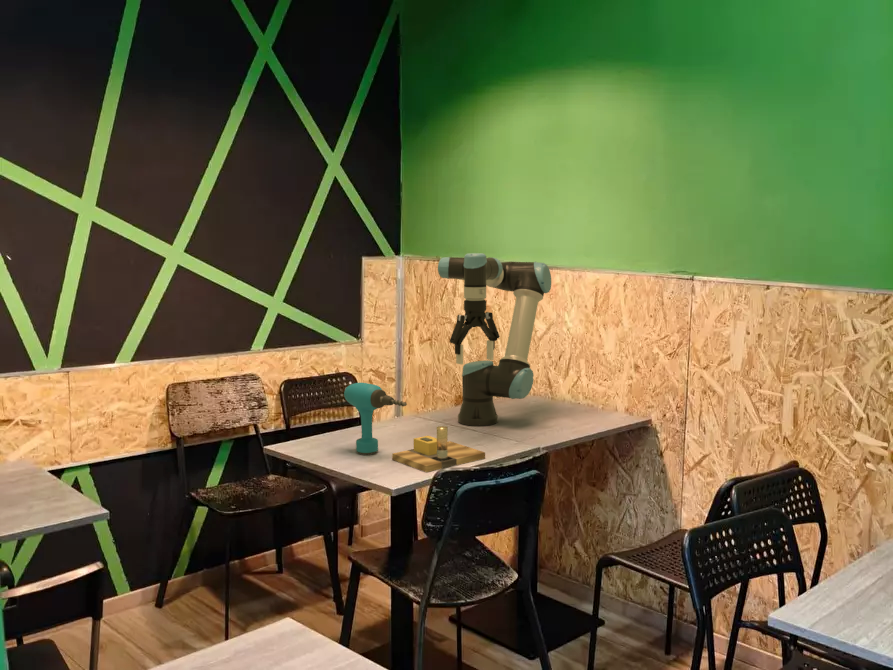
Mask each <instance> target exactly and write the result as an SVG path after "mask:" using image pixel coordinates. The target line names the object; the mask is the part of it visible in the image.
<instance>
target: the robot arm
mask: <svg viewBox="0 0 893 670" xmlns="http://www.w3.org/2000/svg"><path fill="white" fill-rule="evenodd" d="M437 273H438V276H439V277H440V278H442V279H447V280H451V279H453V280H458V281H459V280H460V281H461V280H462V281H463V299H464V300H463V311H464V313H465V314H457V316H456V317H457V318H456V322H455V325H454V329H453V331H452V334H451V336H450V338H449V343H451V344H453V345H454V354H455V360H456V361H455V364H456V365H463V366H462V374H461V377H462V379H461V380H462V381H461V382H462V383H461V385H462V403H461V406H460V408H459V409H460V410H459V413H458V415H457V422H458V423H459V424H462V425H465V426H472V427H473V426H474V427H481V426H482V427H484V426H492V425H495V424H497V423H498V414H497V410H496V406H495V404H494V398H495V397H497V398H504V399H505V398H506V399H512V400H515V399H516V400H517V399H518V400H522V399H525V398H526V397H527V396H528V395H529V394H530V392H531V390H532V388H533V384H534V372H533V370H532V368H531V364H530V363H529V362H528V358H529V353H530V348H531V342H532V336H533V332H534V328H535V327H534V326H535V321H536V316H537V310H538V306H539V305H538V304H539V302H541V301H542V300H543V299H544V296H545V294H548V293H550V291H551V289H552V275H551V270H550V267H549V266H548V265H547V263H545V262H537V261H503V262H502V261H501V260H499V259H498V258H497V257H491V256H490V257H487V255H486V254H485V253H483V252H482V253H480V252H479V253H478V252H472V253H469V252H468V253H466V254H465V255H464V256H463V257H457V256H456V257H454V256H453V257H452V256H447V257H446V256H445V257H441V258H440V259H439V261H438V263H437ZM487 287H489V288H493V289H498V290H502V291H505V292H512V293H513V296H514V297H515V303H514V308H513V313H512V317H511V322H510V328H509V332H508V337H507V342H506V347H505V353H504V356H503V357H501V358H500V359H499V362H498V365H494V364H495V363H494V350H495V349H496V348H495V347H496V346H495V345H496V343H495V342H497V341H498V339H500V334H499V331H498V328H497V326H496V324H495V321H494V318H493V317H494V315H493V312H489V311H487V300H486V298H487ZM477 327H479V328H480V329H481V331H482V332H483V333H484V334H485V336H486V338H487V339H488V340H486V360H477V361H471V362H467V363H465V364H464V344H463V342H464V340H465V338H466V336H467V335H468V333H469V332H470V330H471V329H472V328H477Z"/></svg>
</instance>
